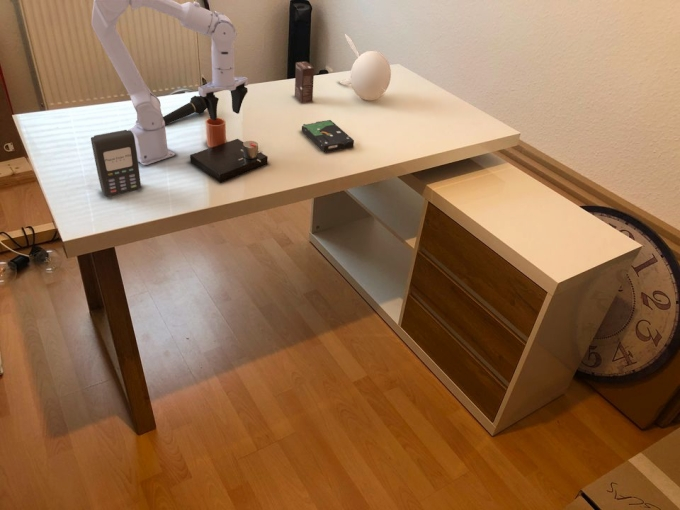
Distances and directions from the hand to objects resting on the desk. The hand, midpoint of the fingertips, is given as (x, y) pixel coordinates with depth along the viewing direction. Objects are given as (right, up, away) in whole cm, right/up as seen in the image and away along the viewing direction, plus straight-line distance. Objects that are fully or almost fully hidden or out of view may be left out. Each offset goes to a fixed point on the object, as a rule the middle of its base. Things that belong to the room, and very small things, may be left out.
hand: (224, 115), depth 150 cm
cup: (-4, -6, +8) cm, 11 cm away
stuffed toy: (+39, +19, +47) cm, 64 cm away
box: (+19, +15, +39) cm, 46 cm away
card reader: (-22, -22, -15) cm, 35 cm away
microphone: (-18, +4, +19) cm, 26 cm away
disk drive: (+27, -3, +17) cm, 33 cm away
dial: (+7, -11, 0) cm, 13 cm away
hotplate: (+1, -13, +1) cm, 13 cm away
